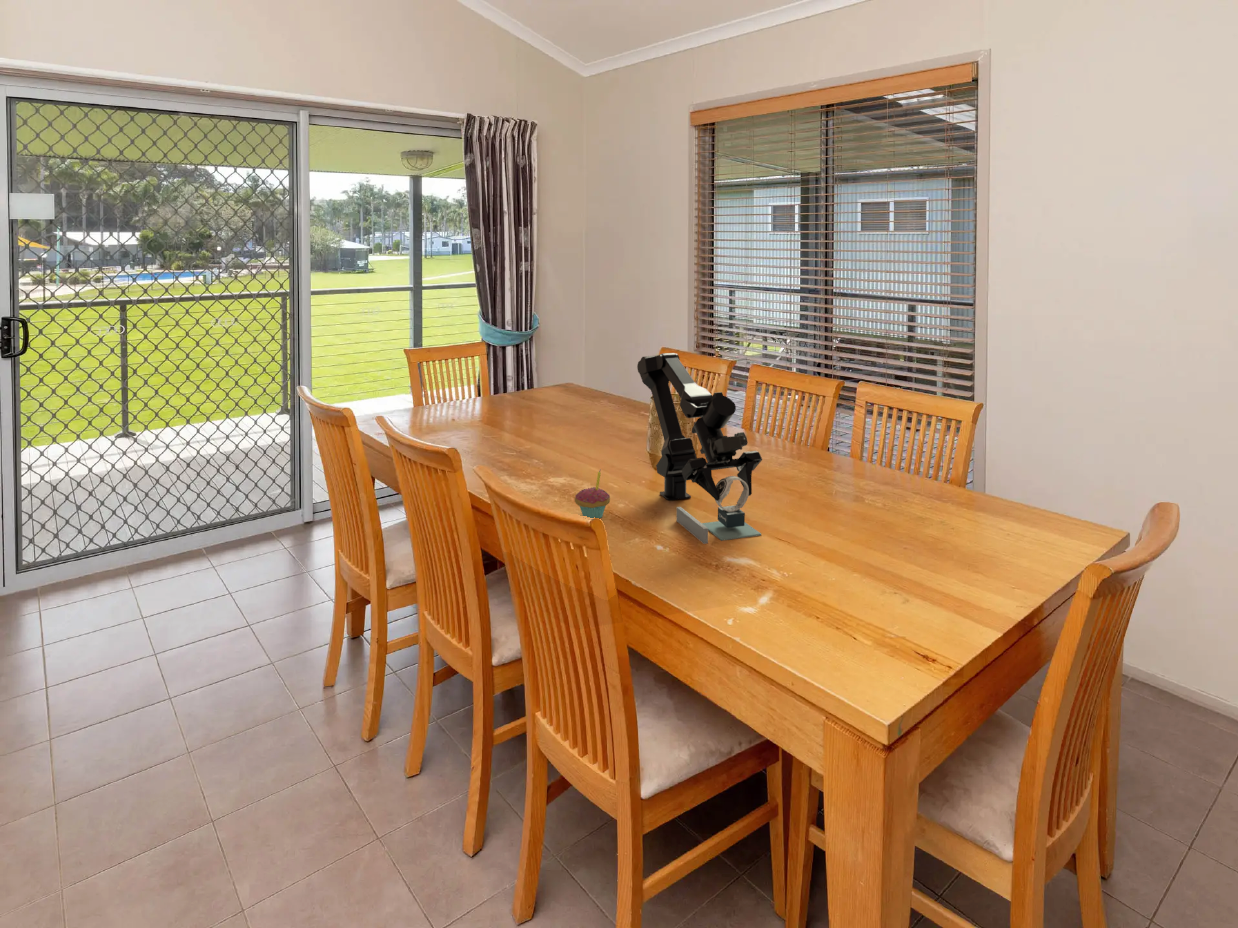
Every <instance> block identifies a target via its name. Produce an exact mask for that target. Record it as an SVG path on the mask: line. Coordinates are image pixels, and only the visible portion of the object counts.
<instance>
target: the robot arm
mask: <svg viewBox="0 0 1238 928" xmlns="http://www.w3.org/2000/svg"><path fill="white" fill-rule="evenodd" d="M636 368H637V372H638V374H639V376H640V378H641V382H642V383H643V385H645V386H646V387H647V388H648V389H649V390H650V392H651V395H652V399H653V402H654V407H655V410H656V414H657V417H658V421H659V425H660V429H661V432H662V437H663V443H662V444H663V445H662V446H661V450H660V453H661V457H660V459H659V460H658V462H657V463H656V465H655V466H656V467H655V468H656V473H657V474H658V475H660V476H662V477H664V482H663V485H664V489H663V490H662V491H660V492H659V494H660V496H662V497H663V498H664V499H666V500H667V501H675V500H685V499H691V498H692V495H690V493H688V492H687V481H691V483H695V484H697V485H698V486H699V487H701V488H702V489H703V490H704V491H705V492H707V493H708V494H709V495H710V496H711V497H712V498H713V499H714V500H717V501H718V500H719V499H720V497H719V493H718V491H717V488H716V484H715V481H714V479H713V475H712V471H717V470H718V471H719V470H725V469H732V468H735V469H736V470H737V471H738V473H737V474H736V477H739V478H740V479H742V480H743V481H745V482H746V483H747V485H748V488H749V496H748V497H751V495H752V493H753V489H752V487H753V486H752V484H753V483H752V475H753V471H755V469H756V468H757V467H758V466H759V464H760V463H761V462H762V461H763V457H762V455H761V453H760V452H759V451H757V450H749V451H743V452H742V454H741V455H740V456H739V457H737V458H733V457H735V456H736V455H737V451H739V450H740V451H741V450H743V447H746V446H747V445H748V439H747V438H748V437H747V435H746V434H745V432H744V431H742V432H737V433H734V434H733V435H732V436H727V435H723V431H722V429H723V428H724V427H726V425H727V424H728V422H729V421H730V420H731V418H732V417H733V415H734V414H735V413H736V409H737V407H736V404H735V401H733V400H732V399H731V398H730V397H728V396H725V395H724V394H723V392H722V391H717V392H714V393H713V394H712V393H710V391H709V390H708V389H707V388H705V387H702V386H700V385H699V384H697V383H696V382H695V380H694V379H693V378H692V376H691V374H690V373H689V372H688V370H687V369H686V367H685V365H684V364H683V363H682V361H680V356H679V354H678V353H675V352H666V353H660V354H657V355H648V356H642V357H641V358H640V359H639V361H638V362H637V367H636ZM669 383H670V384H671V385H672V386H673V388H674V390H675V391H676V393H677V394H678V395H679V398H680V402H679V406H680V409H681V411H682V413H683V415H684V416H685V417H686V418H687V419H695V418H698V419H696V421H694V422H693V427H692V428H691V434H696V435H697V438H698V441H699V444H700V446H701V448H700V450H699V452H700V455H704V456H705V458H704V457H703V456H702V457H697V454H696V450H695V447H694V444H693V440H692V438H691V437H686V436H684V434H683V432H682V429H681V425H680V424H681V423H680V420H679V418H678V413H677V410H676V406H675V403H674V399H673V395H672V391H671V389H670V384H669ZM739 482H740V483H741V486H742V488H744V485H743V482H742V481H740V480H739Z"/></svg>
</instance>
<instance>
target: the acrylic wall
mask: <svg viewBox="0 0 1238 928" xmlns="http://www.w3.org/2000/svg"><path fill="white" fill-rule="evenodd" d="M675 519H676V520H675V521H676V522H677V523H678V524H680V526H681V527H683V528H684V529H685V530H686V531H687V532H689V533H690V534H691V535H692V536H694V537H695V538H696V539H697V540H698V541H700V542H701V543H702V544H704V545H707V544H708V543H709V531H708V528H707V527H706V526H704V525H703V524H702V523H703V522H701V521H700V520H698V519H697V518H695V516H693V515H692V514H690V513H689V512H688V511H686V510H685V509H684V508H683V507H681V506H676V518H675Z"/></svg>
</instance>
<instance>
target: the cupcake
mask: <svg viewBox="0 0 1238 928" xmlns="http://www.w3.org/2000/svg"><path fill="white" fill-rule="evenodd" d="M600 479H601V468H600V469H599V470H598V472H597V476H596V483H595V486H593V487H588V488H583V489H580V490H579V492H577V493H576V494H575V496H574V503H575V504H577V506H578V507H579V509H580V511H581V515H582V516H587V517H590V518H594V517H595V518H599V519H601V518H603V516H604V512H605V509H606V506H608V505H609V504H610V501H611V496H610V494H609V493H608V492H607V491H606V490H603V489H602V488H599V487H600V486H599V485H600V482H601V481H600Z"/></svg>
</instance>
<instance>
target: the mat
mask: <svg viewBox="0 0 1238 928" xmlns="http://www.w3.org/2000/svg"><path fill="white" fill-rule="evenodd" d="M701 523H702V524H703V525H704V526H706V527H707V528H708V532H710V533H711V534H712V535H713V536H715V537H716V538H717V539H718V540H720V541H721V542H722V541H729V540H738V539H745V538H751V537H752V538H753V537H758V536H762V533H761V532H760V531H759V530H757V529H755V528H754V527H753V526H752V525H750V524H748V523H747V522H745V524H744V526H739V527H730V528H727V527H725V526H724V525H723V524H722V523H721V522H720V521H718V520H717V521H716V520H715V521H711V522H710V521H709V522H701Z"/></svg>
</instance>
